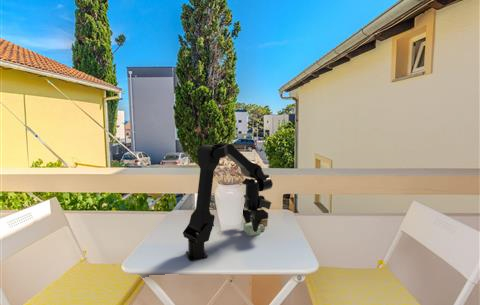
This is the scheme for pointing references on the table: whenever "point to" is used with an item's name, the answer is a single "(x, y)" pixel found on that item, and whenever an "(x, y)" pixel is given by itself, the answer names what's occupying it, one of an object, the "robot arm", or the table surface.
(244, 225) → the hinge leaf
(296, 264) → the table surface
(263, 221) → the hinge base
